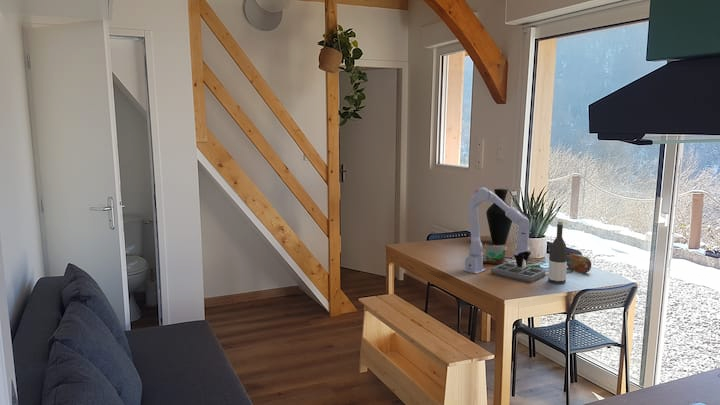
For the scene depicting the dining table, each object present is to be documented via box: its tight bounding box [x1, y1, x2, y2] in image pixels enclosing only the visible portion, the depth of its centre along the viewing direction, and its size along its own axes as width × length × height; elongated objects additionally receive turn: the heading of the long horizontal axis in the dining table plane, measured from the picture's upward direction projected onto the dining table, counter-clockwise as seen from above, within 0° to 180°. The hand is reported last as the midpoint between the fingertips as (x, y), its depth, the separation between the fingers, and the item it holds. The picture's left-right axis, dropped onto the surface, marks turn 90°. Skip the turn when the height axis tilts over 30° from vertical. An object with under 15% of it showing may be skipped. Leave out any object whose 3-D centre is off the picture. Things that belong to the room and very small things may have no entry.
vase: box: [485, 188, 513, 246], centre depth 325 cm, size 17×17×35 cm
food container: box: [484, 244, 508, 265], centre depth 281 cm, size 12×6×10 cm, turn 62°
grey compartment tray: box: [490, 262, 546, 284], centre depth 259 cm, size 15×22×3 cm
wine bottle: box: [547, 220, 568, 285], centre depth 246 cm, size 8×8×30 cm
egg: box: [517, 259, 527, 270], centre depth 261 cm, size 4×4×6 cm
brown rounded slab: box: [567, 253, 592, 274], centre depth 266 cm, size 15×3×8 cm, turn 23°
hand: (521, 266), depth 262 cm, fingers closed on egg, 4 cm apart
